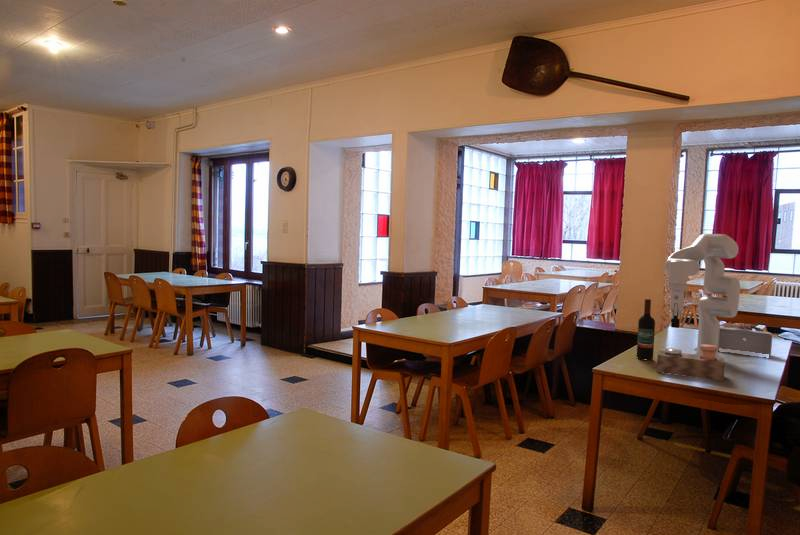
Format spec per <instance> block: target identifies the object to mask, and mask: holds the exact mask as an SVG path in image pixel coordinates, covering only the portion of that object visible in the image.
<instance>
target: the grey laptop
mask: <svg viewBox="0 0 800 535" xmlns="http://www.w3.org/2000/svg"><path fill="white" fill-rule="evenodd" d="M743 339H746V340H743ZM772 345H773V333H771V332H769V331H760V330H753V329H751V330H750V329H742V328H734V327H733V328H731V327H722V326H720V336H719V348H722V349H731V350H740V351H749V352H755V353H762V354H769V358H768V359H771V355H772Z"/></svg>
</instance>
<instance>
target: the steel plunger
mask: <svg viewBox="0 0 800 535" xmlns="http://www.w3.org/2000/svg"><path fill="white" fill-rule="evenodd" d="M664 351H665V353H667V355H671V356H680V355H681V354H682V353H683V352H682V350H681V349H678V348H674V347H673V348H670V347H669V348H667V347H666V348H665V349H664Z"/></svg>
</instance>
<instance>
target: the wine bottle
mask: <svg viewBox="0 0 800 535" xmlns="http://www.w3.org/2000/svg"><path fill="white" fill-rule="evenodd" d="M651 304H652V299H646V298H645V299H644V309H643V310H644V311H643V315H642V316H640V318H639V319H638V321H637V322H638V324H637V340H636V343H637V344H636V357H638V358H640V359H647V360H646V361H649V360H650V361H652V360H651V359H653V360H654V346H655V329H656V321H655V318H653V317H652V315H651V309H652V308H651V306H652V305H651ZM640 359H639V360H640Z"/></svg>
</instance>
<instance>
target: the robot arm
mask: <svg viewBox="0 0 800 535" xmlns="http://www.w3.org/2000/svg"><path fill="white" fill-rule="evenodd" d="M738 254H739V245H738V243H737V242H736V241H735V240H734V239H733V238H732V237H730V236H729V235H727V234H724V233H702V234H700V235H699V236H698V237H697V238H695V240H694V241H693V242H692V244H691V245H690V246H687V247H684V248H682V249H678V250H676V251H675V252H673V253H671V254H670V256H669V257H668V258H667V259H666V261H665V263H664V271H665V272H666V273H667V274H668V279H667V282H668V283H667V290H668V291H669V292H670V298H669V299H670V301H669V302H670V303H669V305H670V313H672V314H671V324H670V325H671V328H673V329H674V328H676V329H679V328H680V314H683V313H684V302H685V299H684V298H685V293H684V292H687V290H688V289H687V285H688V276H689V277H693V276H694V277H695V276H696V275H697V274H699V272H700V269H701V266H700V263H699V262H701V261H703V263H704V265H705V267H704V275H703V290H704V292H705V293H707V294H710V295H711V294H712V295H719V296H726V297H717V296H710V295H709V296H702V297H699V299H698V301H697V311H698V330H697V343H696V344H697V346H696V347H694V348H693V349H694V351H696V353H694V354H695V355H702V349H700V345H702V344H707V345H714V346H718V351H719V336H720V327H721V324H720V321H719V319H718V318H717V317H720V318H727V319H728V318H729V319H731V318H735V317H736V316H737V314H738V310H739V302H740V292H741V282H740V280H739V279H738V278H737V277H734V276H728V275H727V276H726V275H725V268H726V266H725V264H724V262H723V260H722V259H734V258H736V257H737V255H738ZM718 351H716V355H715V357H721V358H723V357H722V356H720V355H719V352H718Z"/></svg>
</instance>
